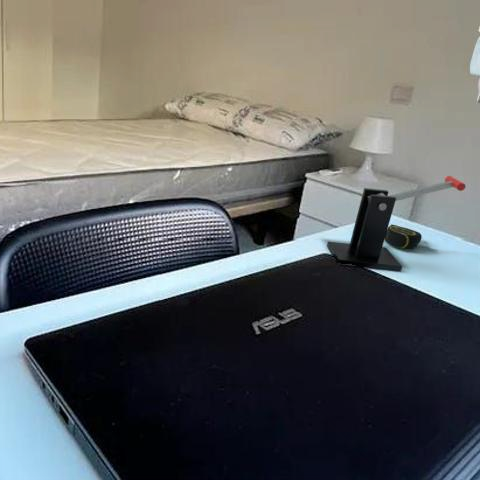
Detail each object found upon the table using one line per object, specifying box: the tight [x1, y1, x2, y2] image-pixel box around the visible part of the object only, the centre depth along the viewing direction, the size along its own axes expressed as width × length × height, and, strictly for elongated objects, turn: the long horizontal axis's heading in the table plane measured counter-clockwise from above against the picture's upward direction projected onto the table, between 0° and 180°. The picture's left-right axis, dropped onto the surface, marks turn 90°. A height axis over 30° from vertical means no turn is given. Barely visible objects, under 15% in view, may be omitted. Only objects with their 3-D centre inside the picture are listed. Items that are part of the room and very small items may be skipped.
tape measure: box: [384, 224, 423, 250], centre depth 107 cm, size 7×7×4 cm
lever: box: [367, 175, 466, 203], centre depth 94 cm, size 16×5×2 cm, turn 85°
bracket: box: [326, 187, 403, 273], centre depth 97 cm, size 12×9×14 cm
